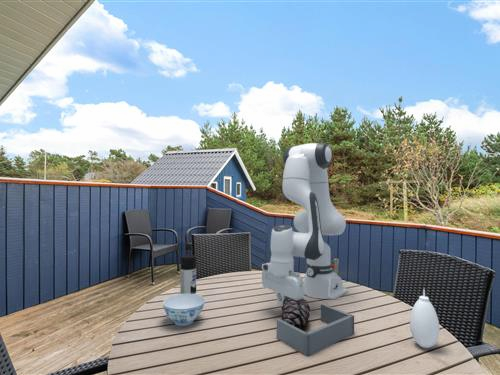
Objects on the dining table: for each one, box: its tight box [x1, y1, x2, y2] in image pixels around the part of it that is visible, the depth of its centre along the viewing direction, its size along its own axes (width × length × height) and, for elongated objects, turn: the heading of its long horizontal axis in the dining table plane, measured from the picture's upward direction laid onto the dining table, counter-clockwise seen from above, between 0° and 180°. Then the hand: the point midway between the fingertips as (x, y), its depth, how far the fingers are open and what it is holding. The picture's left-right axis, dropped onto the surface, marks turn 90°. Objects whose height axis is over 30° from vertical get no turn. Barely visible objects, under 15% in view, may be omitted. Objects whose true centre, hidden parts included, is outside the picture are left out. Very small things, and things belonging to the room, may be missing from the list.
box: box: [276, 303, 355, 357], centre depth 97 cm, size 23×13×6 cm, turn 127°
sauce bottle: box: [409, 288, 440, 349], centre depth 91 cm, size 8×8×18 cm
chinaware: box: [162, 293, 206, 327], centre depth 107 cm, size 15×15×8 cm
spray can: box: [179, 254, 197, 294], centre depth 125 cm, size 7×7×20 cm
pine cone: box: [280, 297, 312, 332], centre depth 102 cm, size 10×18×10 cm, turn 171°
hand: (281, 305), depth 110 cm, fingers closed
